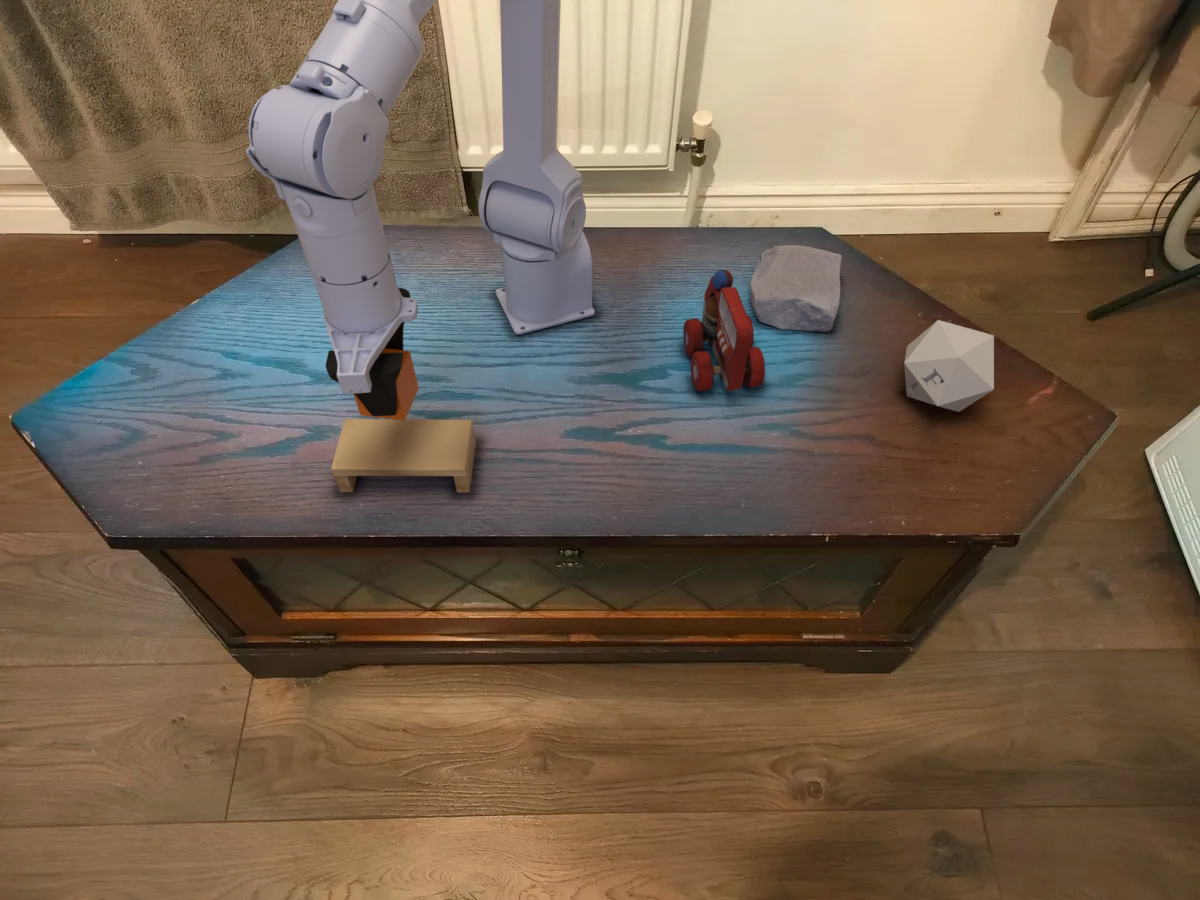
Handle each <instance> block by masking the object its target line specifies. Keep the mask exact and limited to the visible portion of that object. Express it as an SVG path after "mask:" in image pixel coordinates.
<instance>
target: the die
mask: <svg viewBox="0 0 1200 900" xmlns="http://www.w3.org/2000/svg"><path fill="white" fill-rule="evenodd" d="M904 356H905V357H904V361H903V364H904V378H905V389H906V391H905V393H906V397H908V398H911V399H914V400H918V401H921V402H923V403H927V404H930V405H933V406H936V407H940V408H943V409H947V410H950V411H954V412H957V413H960V412H961V411H963V410H964V409H966V408H968V407H969V406H971V405H972V404H974V403H975V402H977V401H979V400H980V399H981V398H983V397H984V396H986V395H987V394H989V393H991V392H993V390H995V335H994V334H990V333H987V332H984V331H979V330H977V329H973V328H968V327H964V326H961V325H958V324H954V323H952V322H951V323H950V322H948V321H943V320H940V319H937V320H936V321H935V322H934V323H933V324H931V325H930V326H929V327H928V328H926V330H924V331H923V332H922V333H921V334H920V335H918V336H917V337H916V338H914V340H912V341H911V342H909V344H908V345H906V351H905V355H904Z"/></svg>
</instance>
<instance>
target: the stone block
mask: <svg viewBox="0 0 1200 900" xmlns="http://www.w3.org/2000/svg"><path fill="white" fill-rule="evenodd" d="M841 266H842V255H841V254H840V253H836V252H835V253H834V252H832V251H829V250H825V249H821V248H816V247H813V246H804V245H797V244H788V245H787V244H786V245H775V246H773V247H772V248H768V249H765V251H763V252H762V253H761V255H760V260H759V263H758V264H757V265H756V267H755V269H754V271H753V275H752V277H751V280H750V284H749V288H750V302H751V307H752V309H753V311H754V315H755V317H756V319H757V320H758V322H760V323H763V324H766V325H769V326H771V327H774V328H777V329H779V330H791V331H792V330H794V331H797V330H798V331H806V332H821V333H825V332H826V333H828V332H830V331H831V330H832V329H833V327H834V324H835V320H836V318H837V314H838V313H839V312H838V310H839V306H840V300H841V299H840V298H841V280H840V275H841Z"/></svg>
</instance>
